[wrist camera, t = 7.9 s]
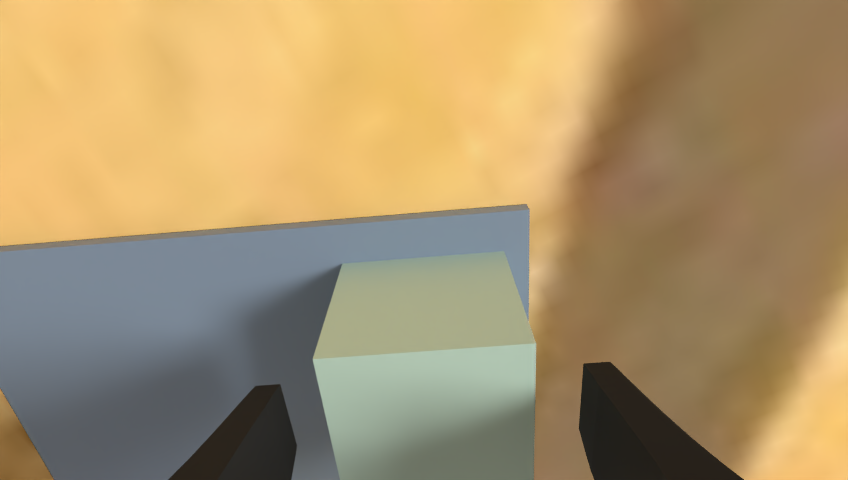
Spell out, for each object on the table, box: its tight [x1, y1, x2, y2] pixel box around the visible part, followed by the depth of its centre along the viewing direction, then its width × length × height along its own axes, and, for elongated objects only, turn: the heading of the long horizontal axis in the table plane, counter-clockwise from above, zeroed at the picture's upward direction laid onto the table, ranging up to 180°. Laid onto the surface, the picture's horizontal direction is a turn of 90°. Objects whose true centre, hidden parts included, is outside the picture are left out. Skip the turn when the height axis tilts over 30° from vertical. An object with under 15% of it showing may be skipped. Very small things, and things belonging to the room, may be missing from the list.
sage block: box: [313, 251, 536, 480], centre depth 13 cm, size 5×5×4 cm
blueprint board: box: [0, 204, 529, 480], centre depth 17 cm, size 17×17×1 cm
